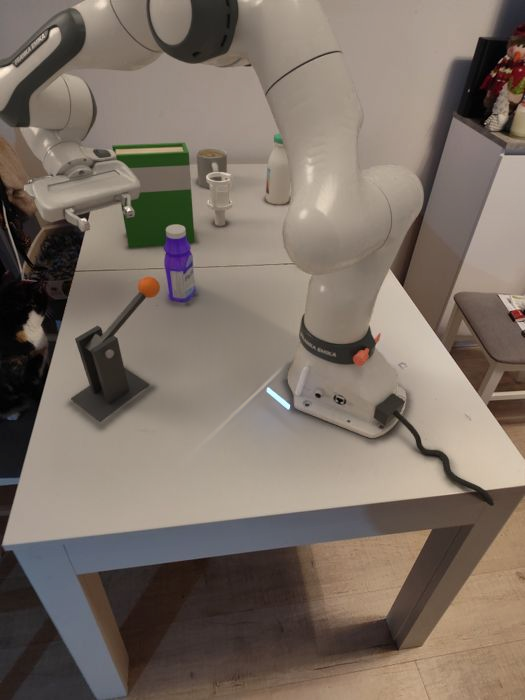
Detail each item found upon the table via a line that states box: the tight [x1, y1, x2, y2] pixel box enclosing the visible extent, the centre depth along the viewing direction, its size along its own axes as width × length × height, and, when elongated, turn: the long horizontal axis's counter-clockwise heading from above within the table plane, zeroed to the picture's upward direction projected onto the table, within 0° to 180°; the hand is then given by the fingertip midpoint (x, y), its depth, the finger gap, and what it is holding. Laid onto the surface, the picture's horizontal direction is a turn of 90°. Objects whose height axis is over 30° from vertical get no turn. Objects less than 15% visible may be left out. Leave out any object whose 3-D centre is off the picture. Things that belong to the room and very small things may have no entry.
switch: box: [85, 276, 161, 353], centre depth 74 cm, size 16×4×4 cm, turn 143°
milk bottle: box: [265, 133, 291, 205], centre depth 139 cm, size 8×8×20 cm
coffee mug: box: [196, 147, 228, 189], centre depth 150 cm, size 13×10×10 cm
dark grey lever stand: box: [70, 325, 150, 423], centre depth 76 cm, size 11×8×14 cm
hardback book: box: [111, 142, 195, 249], centre depth 116 cm, size 18×7×24 cm, turn 105°
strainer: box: [206, 172, 233, 227], centre depth 127 cm, size 7×7×15 cm
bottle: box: [163, 224, 196, 303], centre depth 98 cm, size 7×6×17 cm
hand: (109, 222), depth 85 cm, fingers open, 8 cm apart
